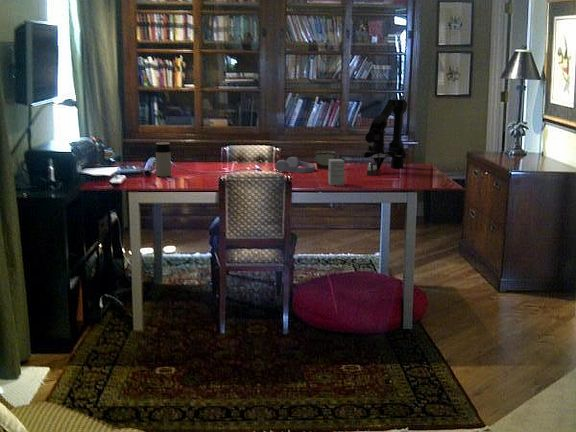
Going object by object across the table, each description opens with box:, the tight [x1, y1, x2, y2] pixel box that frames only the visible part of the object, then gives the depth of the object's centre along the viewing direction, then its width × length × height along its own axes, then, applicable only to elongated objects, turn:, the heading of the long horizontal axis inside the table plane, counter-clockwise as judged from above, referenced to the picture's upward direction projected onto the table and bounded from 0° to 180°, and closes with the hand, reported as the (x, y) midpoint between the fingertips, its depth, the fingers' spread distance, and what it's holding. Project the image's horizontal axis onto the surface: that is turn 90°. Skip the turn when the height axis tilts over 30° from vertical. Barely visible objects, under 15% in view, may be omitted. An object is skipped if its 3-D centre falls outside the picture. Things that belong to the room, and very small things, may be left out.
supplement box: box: [327, 158, 345, 187], centre depth 406 cm, size 7×7×13 cm
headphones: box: [274, 156, 316, 174], centre depth 455 cm, size 22×7×20 cm
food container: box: [314, 150, 337, 170], centre depth 463 cm, size 12×6×10 cm, turn 84°
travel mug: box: [155, 141, 172, 178], centre depth 432 cm, size 8×8×18 cm
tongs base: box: [366, 161, 376, 176], centre depth 451 cm, size 28×5×4 cm, turn 174°
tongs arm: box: [371, 165, 378, 176], centre depth 448 cm, size 24×2×2 cm, turn 174°
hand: (378, 169), depth 448 cm, fingers closed
